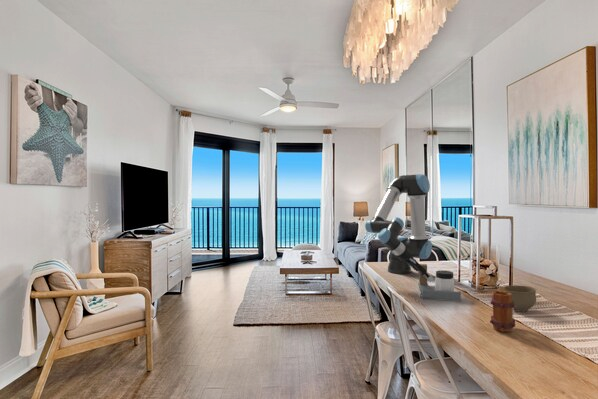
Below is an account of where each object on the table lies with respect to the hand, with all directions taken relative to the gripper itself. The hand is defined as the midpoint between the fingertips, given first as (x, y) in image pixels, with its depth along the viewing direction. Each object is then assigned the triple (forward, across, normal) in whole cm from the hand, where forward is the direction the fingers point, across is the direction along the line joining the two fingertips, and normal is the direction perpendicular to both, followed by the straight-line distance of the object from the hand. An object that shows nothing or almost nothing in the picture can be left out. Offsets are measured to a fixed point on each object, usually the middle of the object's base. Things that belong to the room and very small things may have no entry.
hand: (429, 279), depth 188 cm
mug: (+3, +60, -3) cm, 60 cm away
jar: (+2, +18, -3) cm, 19 cm away
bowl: (+17, +43, +11) cm, 47 cm away
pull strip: (+2, +12, -4) cm, 13 cm away
